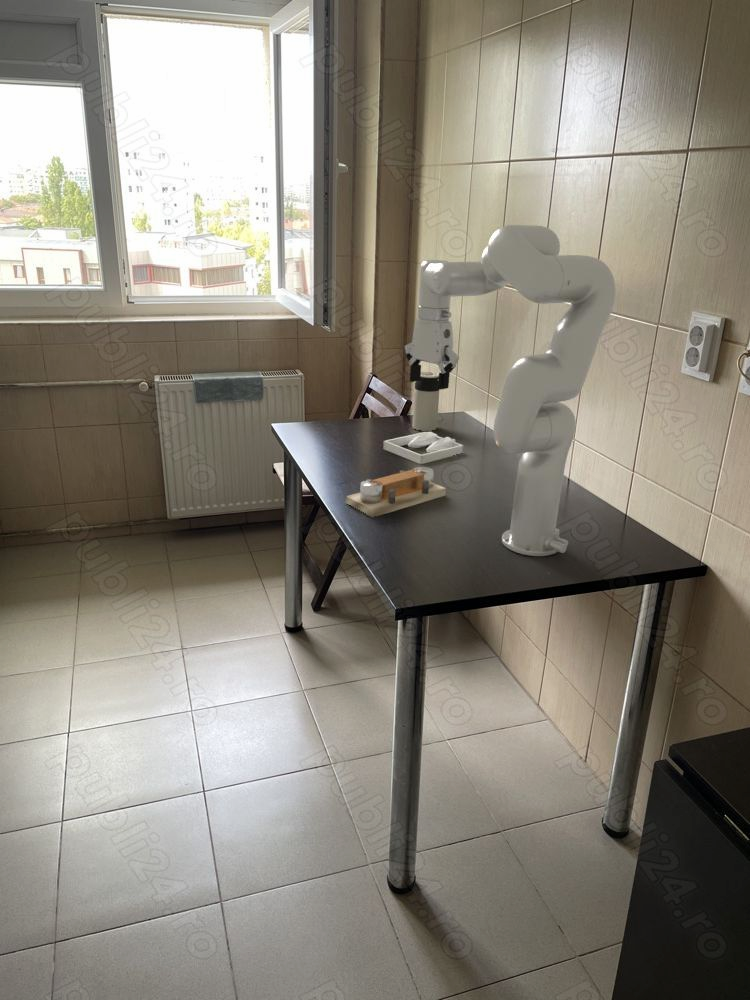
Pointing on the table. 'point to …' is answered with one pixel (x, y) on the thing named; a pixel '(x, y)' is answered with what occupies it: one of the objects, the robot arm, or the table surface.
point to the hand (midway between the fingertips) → (428, 384)
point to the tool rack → (397, 499)
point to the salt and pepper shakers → (431, 442)
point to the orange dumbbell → (395, 484)
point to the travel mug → (426, 402)
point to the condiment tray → (395, 448)
